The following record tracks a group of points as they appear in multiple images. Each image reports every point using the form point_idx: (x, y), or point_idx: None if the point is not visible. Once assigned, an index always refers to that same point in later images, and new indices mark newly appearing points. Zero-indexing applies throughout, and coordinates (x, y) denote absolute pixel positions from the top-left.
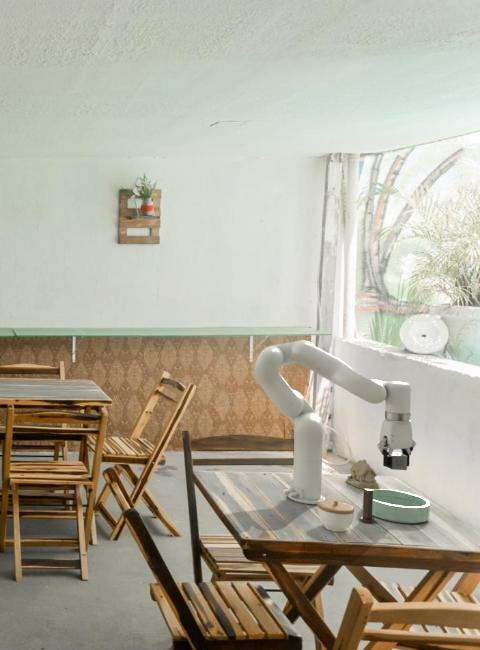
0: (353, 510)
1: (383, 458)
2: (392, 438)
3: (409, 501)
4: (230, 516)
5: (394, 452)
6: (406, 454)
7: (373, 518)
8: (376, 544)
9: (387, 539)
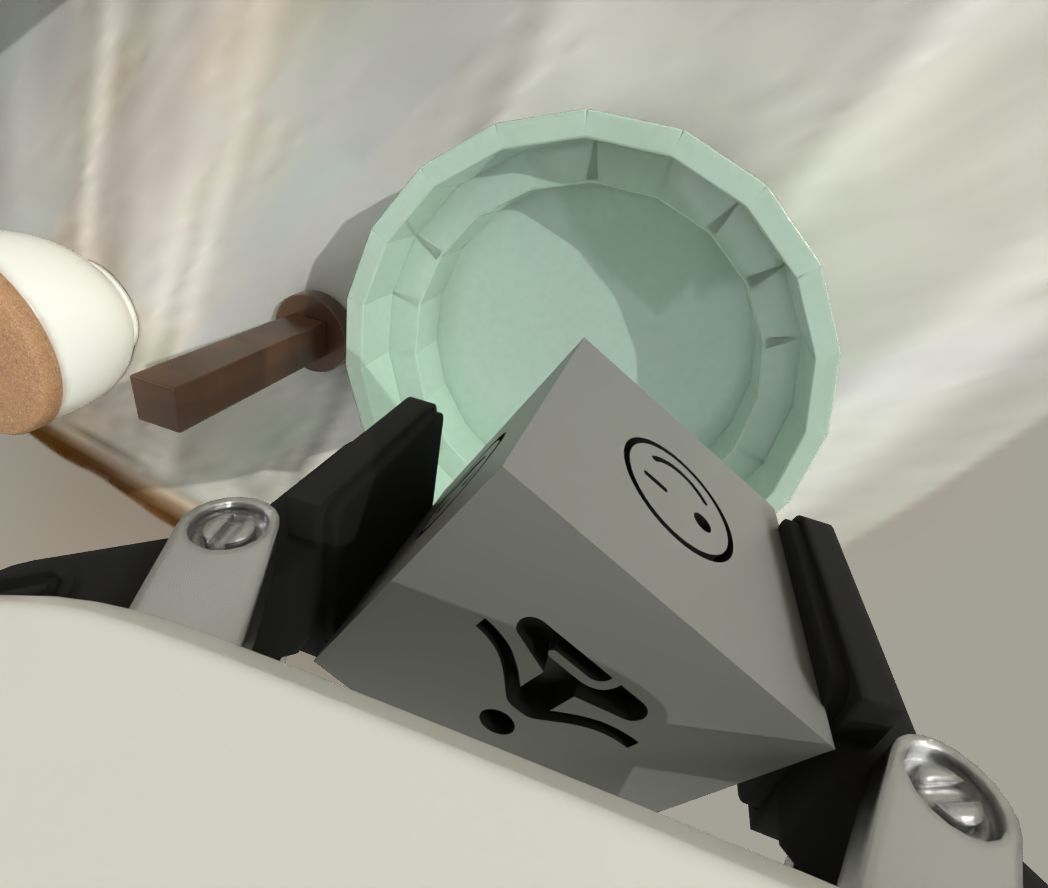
0: (30, 431)
1: (340, 454)
2: None
3: (781, 385)
4: None
5: (660, 635)
6: (774, 818)
7: (341, 354)
8: (166, 495)
9: (240, 496)
